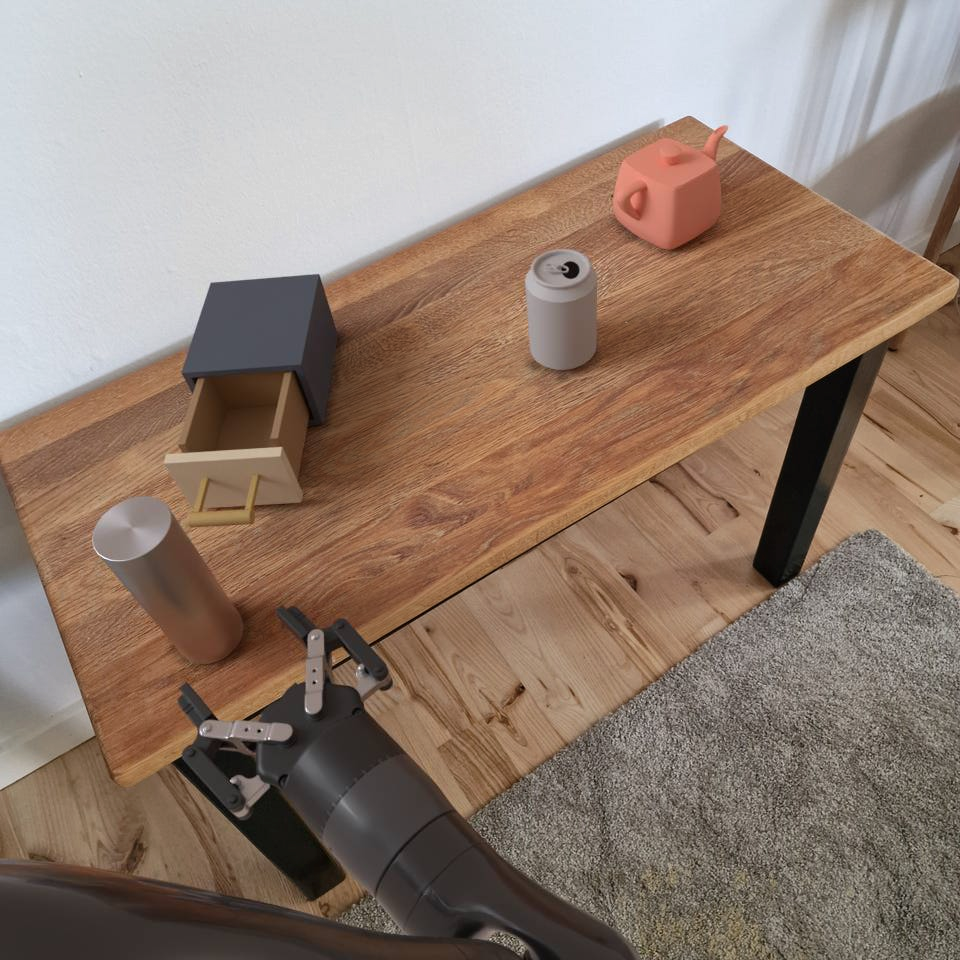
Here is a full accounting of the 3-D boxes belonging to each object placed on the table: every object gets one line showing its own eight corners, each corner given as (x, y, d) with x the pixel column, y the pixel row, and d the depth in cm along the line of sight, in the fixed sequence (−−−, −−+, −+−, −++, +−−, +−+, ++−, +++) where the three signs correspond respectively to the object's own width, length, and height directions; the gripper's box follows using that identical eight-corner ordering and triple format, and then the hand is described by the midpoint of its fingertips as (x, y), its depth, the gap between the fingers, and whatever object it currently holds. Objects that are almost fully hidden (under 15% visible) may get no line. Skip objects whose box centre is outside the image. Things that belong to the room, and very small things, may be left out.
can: (598, 373, 91) (600, 286, 82) (530, 377, 92) (524, 291, 82) (593, 327, 96) (594, 240, 86) (529, 332, 96) (523, 245, 87)
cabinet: (323, 424, 90) (301, 364, 83) (212, 432, 91) (180, 372, 84) (338, 335, 100) (319, 273, 92) (236, 342, 101) (210, 282, 93)
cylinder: (172, 666, 74) (81, 563, 61) (187, 607, 77) (104, 498, 64) (237, 663, 73) (160, 559, 60) (249, 604, 77) (179, 493, 64)
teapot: (586, 232, 107) (586, 158, 99) (687, 176, 113) (695, 102, 105) (648, 272, 101) (654, 197, 93) (751, 211, 106) (765, 135, 98)
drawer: (293, 548, 79) (271, 503, 74) (179, 554, 80) (148, 510, 75) (318, 405, 91) (300, 356, 85) (218, 411, 92) (194, 364, 86)
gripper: (444, 703, 53) (296, 562, 61) (266, 875, 48) (129, 695, 56) (458, 746, 59) (321, 612, 67) (301, 903, 54) (172, 736, 62)
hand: (234, 650), depth 62 cm, fingers open, 8 cm apart
